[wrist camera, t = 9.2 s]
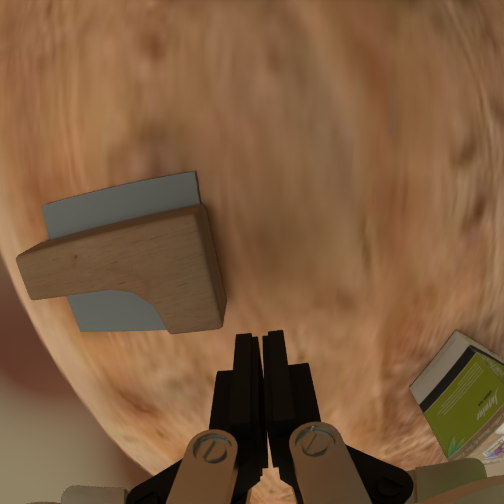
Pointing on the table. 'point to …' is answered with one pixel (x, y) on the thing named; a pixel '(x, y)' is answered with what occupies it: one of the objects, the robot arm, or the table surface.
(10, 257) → the table surface
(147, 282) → the wooden block
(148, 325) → the mat
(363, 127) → the table surface
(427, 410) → the tea box
